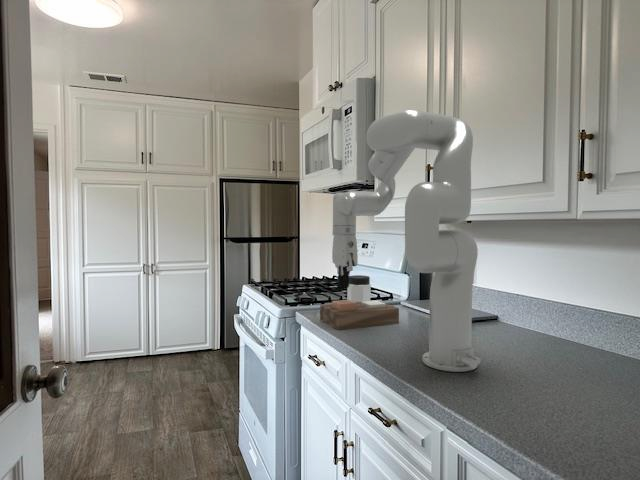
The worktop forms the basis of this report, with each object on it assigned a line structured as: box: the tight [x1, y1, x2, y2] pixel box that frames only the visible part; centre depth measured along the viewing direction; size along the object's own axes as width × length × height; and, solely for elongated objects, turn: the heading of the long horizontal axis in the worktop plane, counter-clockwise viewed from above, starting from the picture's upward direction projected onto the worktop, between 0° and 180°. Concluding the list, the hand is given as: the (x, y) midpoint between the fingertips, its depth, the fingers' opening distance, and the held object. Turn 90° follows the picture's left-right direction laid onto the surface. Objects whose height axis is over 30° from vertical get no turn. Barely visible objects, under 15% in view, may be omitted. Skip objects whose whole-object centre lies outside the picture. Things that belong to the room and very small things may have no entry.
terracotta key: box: [331, 299, 356, 311], centre depth 139 cm, size 6×6×4 cm
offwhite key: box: [361, 300, 387, 308], centre depth 143 cm, size 6×6×4 cm
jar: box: [346, 274, 372, 302], centre depth 163 cm, size 9×8×12 cm
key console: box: [319, 301, 400, 331], centre depth 141 cm, size 14×22×5 cm, turn 113°
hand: (343, 287), depth 139 cm, fingers closed
